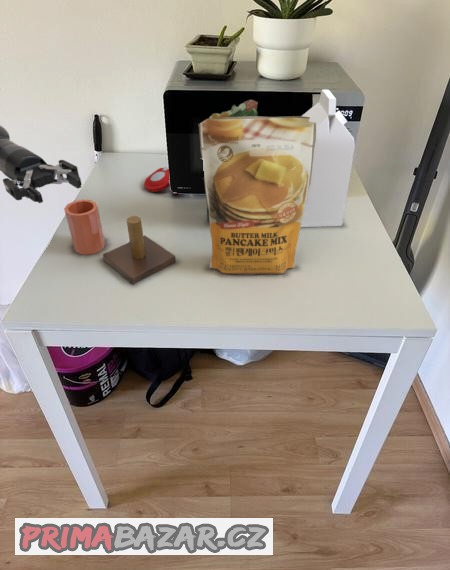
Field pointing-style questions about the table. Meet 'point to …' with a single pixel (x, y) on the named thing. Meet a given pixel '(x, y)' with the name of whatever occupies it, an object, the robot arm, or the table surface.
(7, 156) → the robot arm
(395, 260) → the table surface
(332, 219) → the milk
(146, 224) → the table surface
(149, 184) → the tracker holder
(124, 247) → the ring stand
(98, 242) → the faceted terracotta cup
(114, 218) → the table surface
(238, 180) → the pancake mix bag
